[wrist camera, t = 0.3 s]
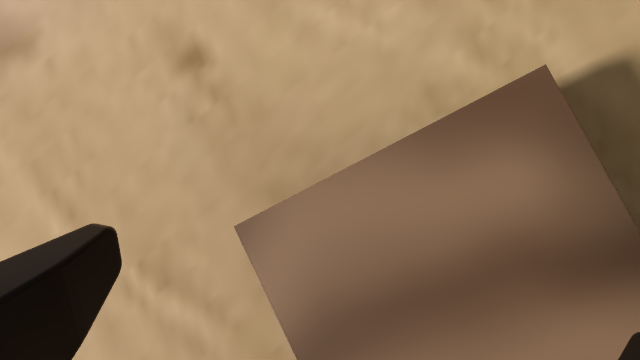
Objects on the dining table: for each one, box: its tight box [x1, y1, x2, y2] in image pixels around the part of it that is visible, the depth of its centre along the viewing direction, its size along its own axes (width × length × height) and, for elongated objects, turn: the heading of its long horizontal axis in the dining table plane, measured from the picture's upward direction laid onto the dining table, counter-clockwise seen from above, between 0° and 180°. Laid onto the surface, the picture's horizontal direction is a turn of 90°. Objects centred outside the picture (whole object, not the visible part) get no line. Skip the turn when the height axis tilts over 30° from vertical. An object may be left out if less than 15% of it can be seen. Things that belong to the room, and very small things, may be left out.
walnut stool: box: [234, 65, 640, 360], centre depth 20 cm, size 13×13×4 cm
